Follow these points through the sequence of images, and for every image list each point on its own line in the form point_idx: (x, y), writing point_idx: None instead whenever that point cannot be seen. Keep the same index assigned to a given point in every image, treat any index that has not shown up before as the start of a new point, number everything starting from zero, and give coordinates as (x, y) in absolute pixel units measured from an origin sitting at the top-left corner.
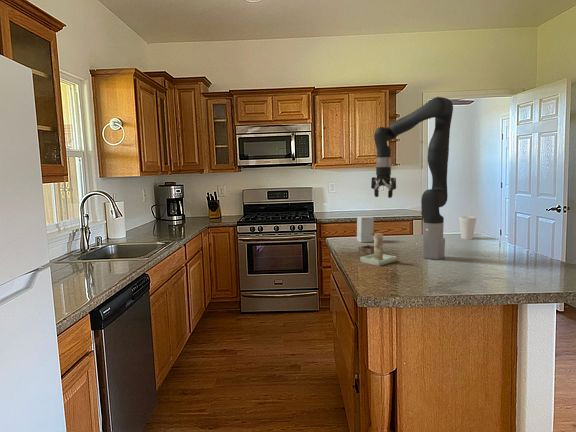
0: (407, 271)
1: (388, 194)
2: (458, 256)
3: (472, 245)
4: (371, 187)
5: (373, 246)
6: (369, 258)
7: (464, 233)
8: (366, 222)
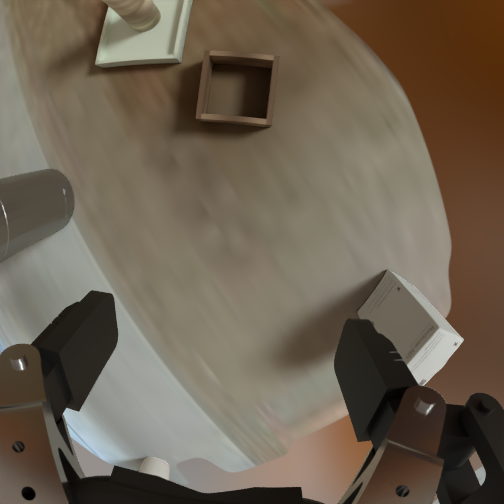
0: (44, 14)
1: (85, 312)
2: (24, 264)
3: (92, 407)
4: (493, 403)
5: (240, 116)
6: (178, 7)
7: (151, 467)
8: (409, 333)
